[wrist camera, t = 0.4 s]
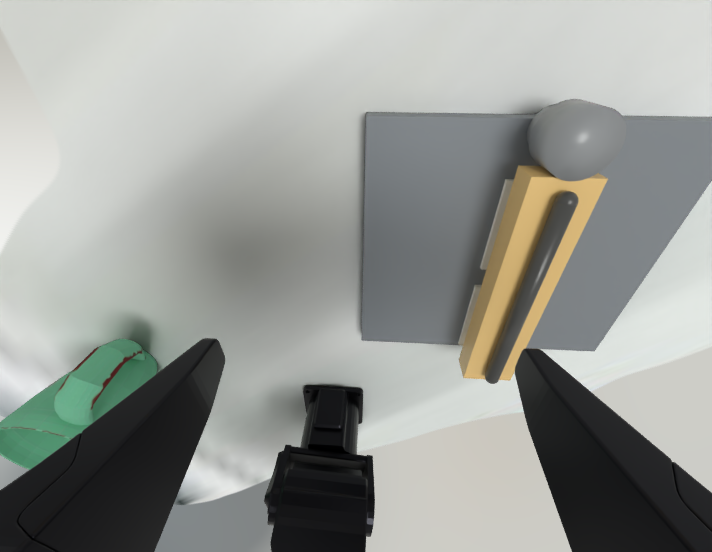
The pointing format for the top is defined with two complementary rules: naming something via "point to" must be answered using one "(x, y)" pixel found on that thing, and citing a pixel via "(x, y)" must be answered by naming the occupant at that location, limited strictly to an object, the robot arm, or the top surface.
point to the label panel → (484, 214)
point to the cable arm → (539, 231)
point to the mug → (74, 402)
